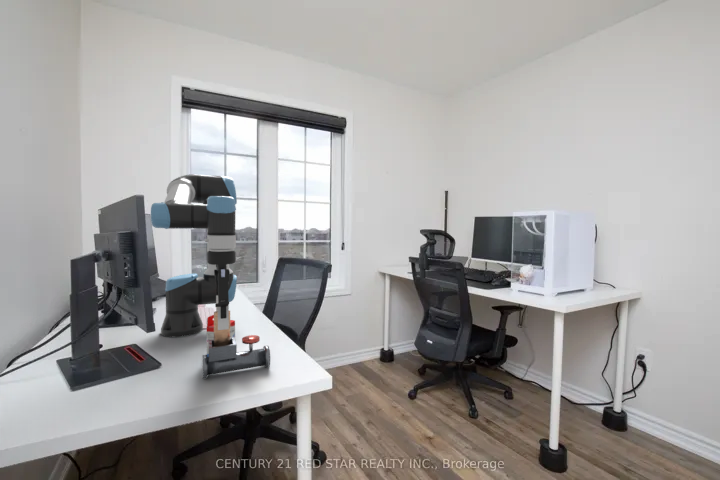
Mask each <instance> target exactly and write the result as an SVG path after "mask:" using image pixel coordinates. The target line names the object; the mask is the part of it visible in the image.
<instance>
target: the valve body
mask: <svg viewBox="0 0 720 480" xmlns="http://www.w3.org/2000/svg"><path fill="white" fill-rule="evenodd" d="M259 342H260V336H259V335H257V334H256V335H255V334H251V335H250V334H249V335H246V336H243V337H242V338H241V343H242V344H243V345H249V346H248V348H249V349H248V350H245V351H237V348H238V347H237V342H236V336H235V337H230V345H224V346H216V347H214V340H209V357H207V354H202V379H203V380H204V379H208V376H213V375H218V374H223V373H229V372H235V371H240V370H246V369H252V368H258V367H264V368H265V369H266V368H270V366H271V350H270V346H269V345H263V347H262V348H257V349H253V348H254V347H253V346H254V345H255V344H257V343H259Z"/></svg>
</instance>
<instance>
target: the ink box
mask: <svg viewBox="0 0 720 480" xmlns="http://www.w3.org/2000/svg"><path fill="white" fill-rule="evenodd" d="M230 337H235V338H236V320H233V319H230ZM209 340H214V314H212V315H209V316H207V319H206V355H207V357H209Z"/></svg>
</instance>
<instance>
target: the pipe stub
mask: <svg viewBox="0 0 720 480" xmlns="http://www.w3.org/2000/svg"><path fill="white" fill-rule="evenodd" d="M213 315H214V318H213V320H214V347H216V346H224V345H230V320H231V310H229V329H225V330H218V311H216V310H215V311H213Z"/></svg>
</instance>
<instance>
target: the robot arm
mask: <svg viewBox="0 0 720 480" xmlns="http://www.w3.org/2000/svg"><path fill="white" fill-rule="evenodd" d="M235 185H236V184H235V181H234V179H233V178H232V177H230V176H225V175H211V174H210V175H208V174H197V173H193V174H183V175H181V176H178V177H176V178H174V179H172V180H171V181H170V182H169V183H168V185H167V187H166V196H165V198H164V201H163V202H154V203H153V204H151V206H150V222H151V225H152V227H153V228H155V229H165V230H169V229H172V230H173V229H175V230H176V229H180V230H181V229H183V230H185V229H186V230H187V229H188V230H189V229H190V230H191V229H195V230H196V229H197V230H198V229H199V230H202V229H206V230H207V231H206V233H207V234H206V235H207V236H206V238H205V239H204V242H205V243H207V244H206V247H207V253H206V255H207V257H206V258H207V260H206V261H207V263H206V265H207V268H206V269H205V270H204V272H203V276H199V274H198V273H185V274H179V275H176V276H172V277H169V278H168V279H167V280H166V281H165V289H164V291H165V316H164V319H163V322H162V325H161V327H160V335H161V336H162V337H165V338H179V337H186V336H191V335H195V334H197V333H200V332H202V331H203V327H204V324H203V321H202V318H201V316H200V315H201V314H200V313H199V306H201V305H213V304H215V311H218V330H225V329H229V311H230V310H229V308H230V307H229V306H230V305H229V304H230V302H233V301H234V299H235V296H236V291H237V282H238V281H237V278H238V277H237V275H235V274H234V271H233V270H232V269H231V267H230V265H233V264H235V263H236V259H237V258H236V254H237V253H236V251H235V250H236V248H237V241H236V240H237V239H236V238H237V236H236V211H237V207H236V205H237V204H238V202H237V201H238V200H237V191H236V186H235Z"/></svg>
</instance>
